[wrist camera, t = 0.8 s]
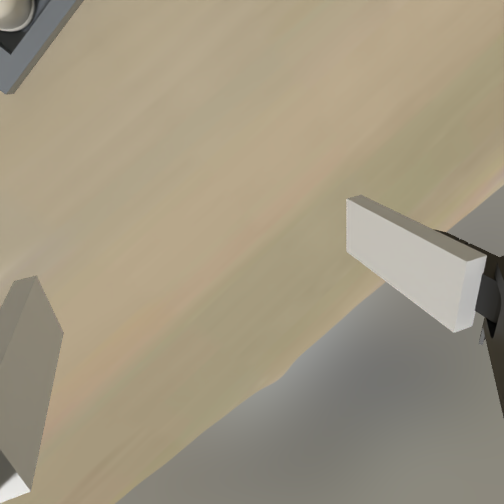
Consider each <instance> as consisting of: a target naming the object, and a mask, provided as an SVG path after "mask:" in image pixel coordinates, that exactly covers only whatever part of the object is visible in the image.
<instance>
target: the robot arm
mask: <svg viewBox="0 0 504 504" xmlns="http://www.w3.org/2000/svg"><path fill="white" fill-rule="evenodd" d="M347 252H348V253H349V254H351V255H352V256H353V257H354V258H356V259H357V260H358V261H360V262H361V263H362V264H364V265H365V266H366V267H368V268H369V269H370V270H372V271H373V272H374V273H376V274H377V275H378V276H380V277H381V278H382V279H384V280H385V281H386V282H387V283H389V284H390V285H391V286H393V287H394V288H396V289H397V290H398V291H399V292H401V293H402V294H403V295H405V296H406V297H407V298H409V299H410V300H411V301H413V302H414V303H415V304H417V305H418V306H419V307H420V308H422V309H423V310H424V311H426V312H427V313H429V314H430V315H431V316H432V317H434V318H435V319H437V320H438V321H439V322H440V323H442V324H443V325H444V326H446V327H447V328H448V329H450V330H451V331H452V332H453V333H455V332H458V331H460V330H463V329H465V328H468V327H471V326H472V325H473V320H474V315H475V311H476V312H478V313H480V314H481V315H483V316H484V317H485V318H484V323H483V327H482V331H481V335H480V340H479V344H483V341H484V340H485V339H486V342H487V347H488V351H489V356H490V360H491V364H492V369H493V373H494V377H495V382H496V386H497V390H498V395H499V399H500V404H501V408H502V412H503V416H504V256H502V257H498V256H496V255H493V254H491V253H489V252H487V251H485V250H483V249H481V248H479V247H477V246H474V245H472V244H468V242H466V241H464V240H461V239H460V240H459V238H457V237H455V236H453V235H451V234H449V233H446V232H442V231H438V230H434V229H431V228H429V227H427V226H425V225H423V224H421V223H419V222H417V221H415V220H413V219H410V218H408V217H406V216H404V215H402V214H400V213H398V212H396V211H394V210H392V209H390V208H388V207H385V206H383V205H381V204H379V203H377V202H375V201H373V200H371V199H369V198H367V197H365V196H363V195H359V196H355V197H351V198H347ZM63 333H64V332H63V330H62V328H61V326H60V324H59V322H58V320H57V318H56V315H55V313H54V311H53V309H52V307H51V305H50V303H49V301H48V299H47V296H46V294H45V292H44V290H43V288H42V286H41V284H40V282H39V280H38V277H37V276H33V277H29V278H25V279H21V280H17V281H14V282H13V284H12V286H11V288H10V290H9V292H8V294H7V296H6V298H5V300H4V302H3V304H2V306H1V308H0V503H1V502H4V501H7V500H9V499H12V498H15V497H17V496H20V495H23V494H25V493H28V492H31V488H32V483H33V478H34V473H35V468H36V463H37V459H38V454H39V449H40V444H41V439H42V435H43V430H44V425H45V420H46V415H47V410H48V406H49V401H50V396H51V391H52V386H53V381H54V377H55V372H56V367H57V362H58V357H59V352H60V348H61V343H62V338H63Z"/></svg>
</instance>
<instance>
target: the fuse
mask: <svg viewBox="0 0 504 504" xmlns="http://www.w3.org/2000/svg"><path fill="white" fill-rule="evenodd" d="M35 14H36V0H0V31H3V32H10V33H12V32H19V31H22V30H24V29H26V28H27V27H28V26H29V25H30V24H31V23H32V22H33V20H34V17H35Z"/></svg>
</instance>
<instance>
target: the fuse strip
mask: <svg viewBox="0 0 504 504" xmlns="http://www.w3.org/2000/svg"><path fill="white" fill-rule="evenodd" d="M83 1H84V0H36V14H35V17H34V20H33V22H32V23H31V24H30V25H29V26H28V27H27V28H26V29H24V30H22V31H19V32H12V33H10V32H3V31H0V91H2V92H3V93H4V94H14V93H15V91H16V90H17V89H18V87H19V86H20V85H21V83H22V82H23V81H24V79H25V78H26V77H27V75H28V74H29V73H30V71H31V70H32V69H33V67H34V66H35V65H36V63H37V62H38V61H39V59H40V58H41V57H42V55H43V54H44V53H45V51H46V50H47V49H48V47H49V46H50V45H51V43H52V42H53V41H54V39H55V38H56V37H57V35H58V34H59V33H60V31H61V30H62V29H63V27H64V26H65V25H66V23H67V22H68V21H69V19H70V18H71V17H72V15H73V14H74V13H75V11H76V10H77V9H78V7H79V6H80V5H81V3H82V2H83Z"/></svg>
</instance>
